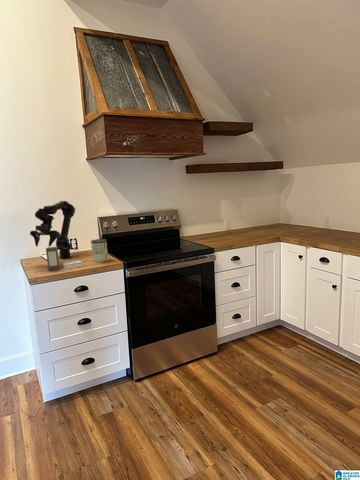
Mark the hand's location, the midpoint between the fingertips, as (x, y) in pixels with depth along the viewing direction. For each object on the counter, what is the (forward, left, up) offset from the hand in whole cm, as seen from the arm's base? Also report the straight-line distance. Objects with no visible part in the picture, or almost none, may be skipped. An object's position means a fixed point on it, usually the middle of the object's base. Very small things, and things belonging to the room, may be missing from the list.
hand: (42, 246), depth 227 cm
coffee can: (-32, +16, -14) cm, 38 cm away
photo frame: (-1, +11, -14) cm, 18 cm away
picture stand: (-12, +14, -14) cm, 23 cm away
